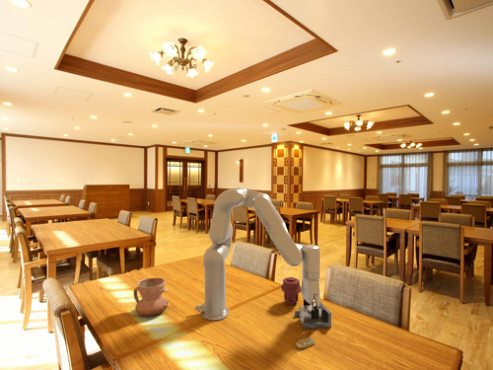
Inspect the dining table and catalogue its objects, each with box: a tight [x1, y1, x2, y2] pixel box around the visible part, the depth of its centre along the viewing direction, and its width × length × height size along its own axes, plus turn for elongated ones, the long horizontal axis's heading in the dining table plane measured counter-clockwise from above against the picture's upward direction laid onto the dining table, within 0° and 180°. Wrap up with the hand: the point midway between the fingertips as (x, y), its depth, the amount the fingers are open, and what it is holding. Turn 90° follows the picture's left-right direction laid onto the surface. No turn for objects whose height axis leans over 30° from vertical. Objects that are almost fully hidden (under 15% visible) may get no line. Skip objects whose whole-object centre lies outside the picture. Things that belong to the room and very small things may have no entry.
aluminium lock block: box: [299, 304, 322, 324], centre depth 116 cm, size 9×5×6 cm, turn 99°
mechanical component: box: [281, 276, 302, 306], centre depth 133 cm, size 12×10×10 cm
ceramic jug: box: [133, 277, 169, 317], centre depth 125 cm, size 18×14×14 cm
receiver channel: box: [293, 300, 332, 331], centre depth 116 cm, size 12×11×6 cm
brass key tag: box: [295, 336, 316, 350], centre depth 100 cm, size 7×3×1 cm, turn 119°
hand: (310, 313), depth 116 cm, fingers open, 8 cm apart
